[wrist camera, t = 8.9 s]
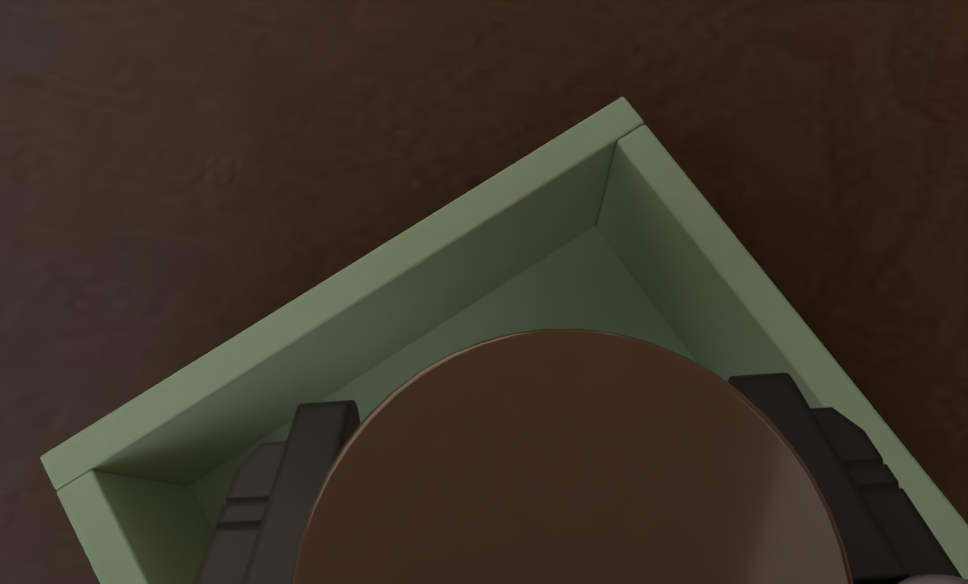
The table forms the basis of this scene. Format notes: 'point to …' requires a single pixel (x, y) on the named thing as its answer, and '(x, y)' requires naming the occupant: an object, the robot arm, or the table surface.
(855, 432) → the robot arm
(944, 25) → the table surface
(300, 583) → the spice jar
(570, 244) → the crate
